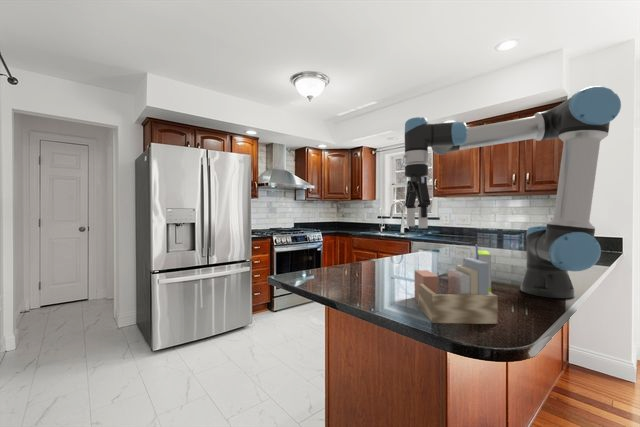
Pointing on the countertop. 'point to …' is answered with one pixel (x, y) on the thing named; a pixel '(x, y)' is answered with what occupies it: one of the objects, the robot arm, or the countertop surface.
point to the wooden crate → (458, 307)
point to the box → (486, 258)
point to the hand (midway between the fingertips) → (416, 227)
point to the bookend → (458, 282)
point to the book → (425, 281)
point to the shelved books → (476, 275)
